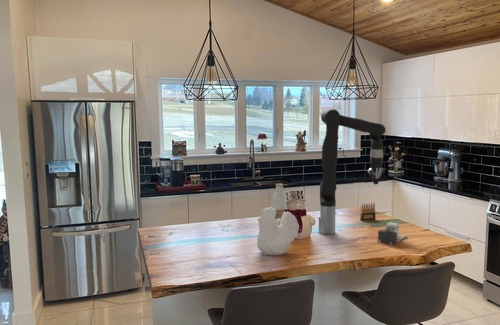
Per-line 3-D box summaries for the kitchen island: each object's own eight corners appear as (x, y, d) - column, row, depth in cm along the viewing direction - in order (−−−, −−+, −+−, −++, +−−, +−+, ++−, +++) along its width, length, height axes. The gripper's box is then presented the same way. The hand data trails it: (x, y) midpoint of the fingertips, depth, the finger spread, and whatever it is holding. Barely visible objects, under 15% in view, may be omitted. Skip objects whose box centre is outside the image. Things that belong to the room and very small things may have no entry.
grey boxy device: (392, 236, 235) (393, 219, 233) (407, 240, 228) (408, 222, 227) (377, 244, 222) (378, 225, 220) (393, 247, 215) (393, 228, 214)
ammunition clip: (361, 220, 270) (361, 203, 269) (360, 220, 272) (360, 203, 271) (375, 219, 273) (376, 202, 271) (374, 219, 275) (374, 202, 273)
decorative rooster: (262, 260, 198) (262, 212, 195) (252, 250, 213) (252, 205, 210) (307, 254, 206) (308, 208, 203) (295, 245, 220) (295, 201, 217)
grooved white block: (390, 237, 228) (390, 222, 226) (398, 239, 224) (399, 223, 223) (385, 239, 224) (386, 223, 223) (394, 241, 220) (395, 225, 219)
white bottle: (269, 225, 261) (269, 183, 258) (281, 223, 265) (282, 182, 262) (276, 229, 252) (276, 185, 249) (289, 227, 257) (289, 184, 253)
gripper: (372, 157, 238) (371, 186, 240) (389, 156, 243) (388, 184, 245) (363, 156, 245) (363, 184, 247) (380, 155, 250) (379, 182, 252)
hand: (375, 184), depth 246 cm, fingers closed
